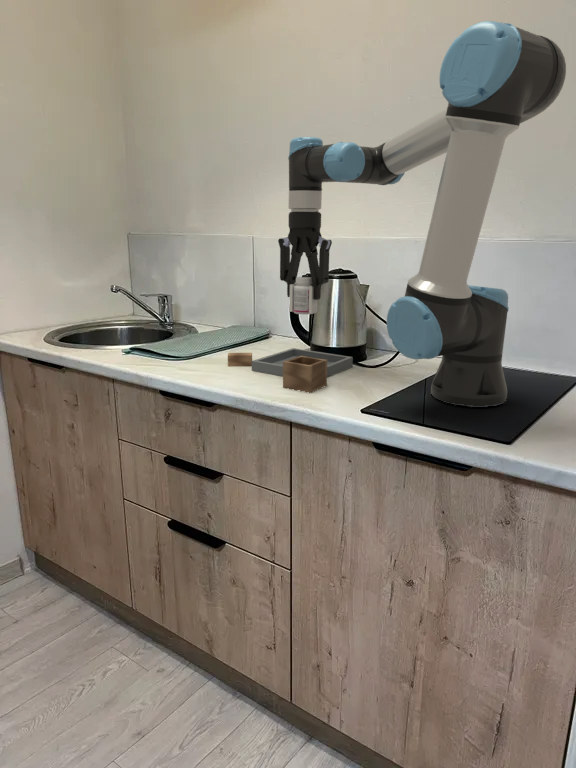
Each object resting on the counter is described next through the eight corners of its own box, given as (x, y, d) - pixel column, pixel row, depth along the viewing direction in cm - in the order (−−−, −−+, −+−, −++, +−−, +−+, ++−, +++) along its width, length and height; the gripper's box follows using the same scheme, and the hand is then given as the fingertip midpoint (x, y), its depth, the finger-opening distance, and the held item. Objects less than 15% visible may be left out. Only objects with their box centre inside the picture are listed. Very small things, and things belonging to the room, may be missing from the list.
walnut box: (326, 386, 127) (327, 359, 126) (309, 393, 122) (310, 366, 120) (300, 381, 131) (300, 355, 130) (282, 388, 126) (283, 361, 124)
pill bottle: (311, 315, 135) (312, 279, 133) (291, 314, 136) (292, 278, 134) (314, 312, 140) (315, 277, 137) (295, 311, 141) (296, 276, 138)
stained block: (252, 364, 147) (252, 352, 146) (251, 366, 144) (251, 355, 143) (228, 364, 146) (228, 352, 146) (228, 367, 144) (227, 355, 143)
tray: (352, 366, 144) (352, 357, 143) (314, 382, 130) (314, 372, 129) (293, 356, 154) (293, 348, 153) (251, 370, 139) (251, 361, 139)
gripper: (347, 211, 130) (343, 313, 136) (282, 211, 139) (281, 306, 146) (330, 210, 124) (327, 317, 130) (264, 210, 133) (264, 310, 140)
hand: (303, 311), depth 138 cm, fingers closed on pill bottle, 5 cm apart
